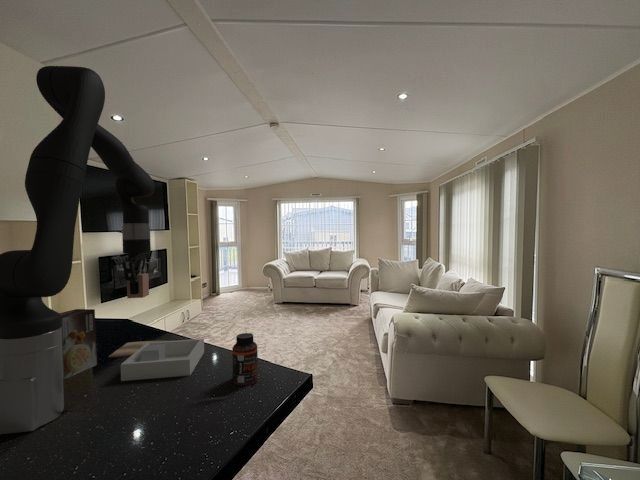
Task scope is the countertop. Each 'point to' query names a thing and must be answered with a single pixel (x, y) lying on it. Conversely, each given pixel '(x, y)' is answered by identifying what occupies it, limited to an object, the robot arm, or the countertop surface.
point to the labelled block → (140, 287)
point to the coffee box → (78, 341)
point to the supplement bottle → (245, 360)
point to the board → (130, 348)
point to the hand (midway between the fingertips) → (138, 292)
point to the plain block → (153, 353)
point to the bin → (164, 361)
